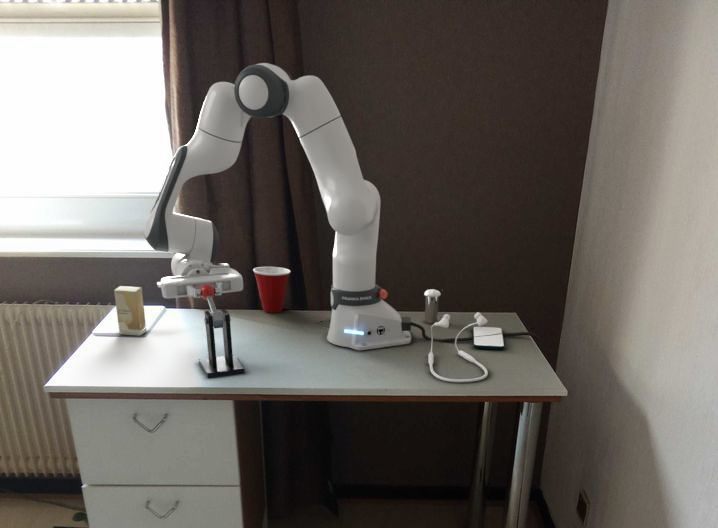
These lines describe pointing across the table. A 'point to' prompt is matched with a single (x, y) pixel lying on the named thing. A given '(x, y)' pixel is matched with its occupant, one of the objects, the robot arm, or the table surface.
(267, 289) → the plastic cup
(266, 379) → the table surface
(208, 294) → the lever
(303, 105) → the robot arm
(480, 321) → the earphone
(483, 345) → the smartphone
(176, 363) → the table surface
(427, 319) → the milkshake
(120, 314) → the cosmetic box
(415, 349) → the table surface
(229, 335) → the bracket
